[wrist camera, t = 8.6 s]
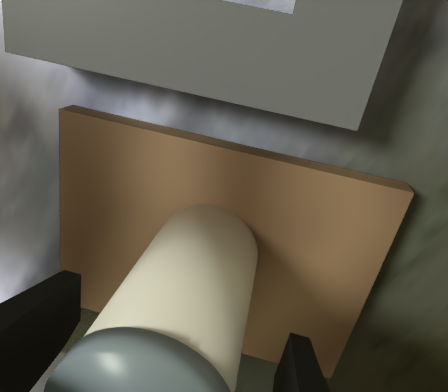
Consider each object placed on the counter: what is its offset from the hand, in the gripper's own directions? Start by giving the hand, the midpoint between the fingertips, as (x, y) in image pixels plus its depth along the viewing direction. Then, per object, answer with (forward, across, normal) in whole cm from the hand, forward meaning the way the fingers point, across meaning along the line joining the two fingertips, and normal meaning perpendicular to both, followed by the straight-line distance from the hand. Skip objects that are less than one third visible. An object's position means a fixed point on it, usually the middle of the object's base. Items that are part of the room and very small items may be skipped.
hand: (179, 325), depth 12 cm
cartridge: (+4, 0, 0) cm, 4 cm away
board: (+5, 0, 0) cm, 5 cm away
